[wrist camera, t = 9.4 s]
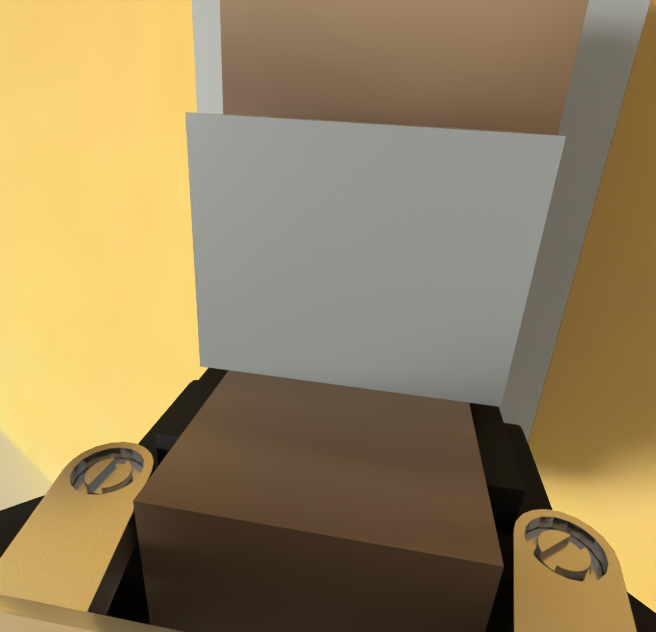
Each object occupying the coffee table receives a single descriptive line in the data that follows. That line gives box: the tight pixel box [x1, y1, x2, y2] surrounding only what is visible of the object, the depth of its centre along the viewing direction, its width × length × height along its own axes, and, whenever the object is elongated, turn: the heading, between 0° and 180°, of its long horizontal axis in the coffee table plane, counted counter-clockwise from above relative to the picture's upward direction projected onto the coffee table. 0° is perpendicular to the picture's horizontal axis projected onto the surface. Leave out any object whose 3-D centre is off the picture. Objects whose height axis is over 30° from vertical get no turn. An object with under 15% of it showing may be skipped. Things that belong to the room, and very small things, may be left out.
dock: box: [192, 0, 651, 443], centre depth 20 cm, size 22×14×5 cm, turn 177°
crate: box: [185, 112, 566, 407], centre depth 9 cm, size 4×5×4 cm
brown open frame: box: [133, 0, 589, 632], centre depth 10 cm, size 19×7×10 cm, turn 177°
